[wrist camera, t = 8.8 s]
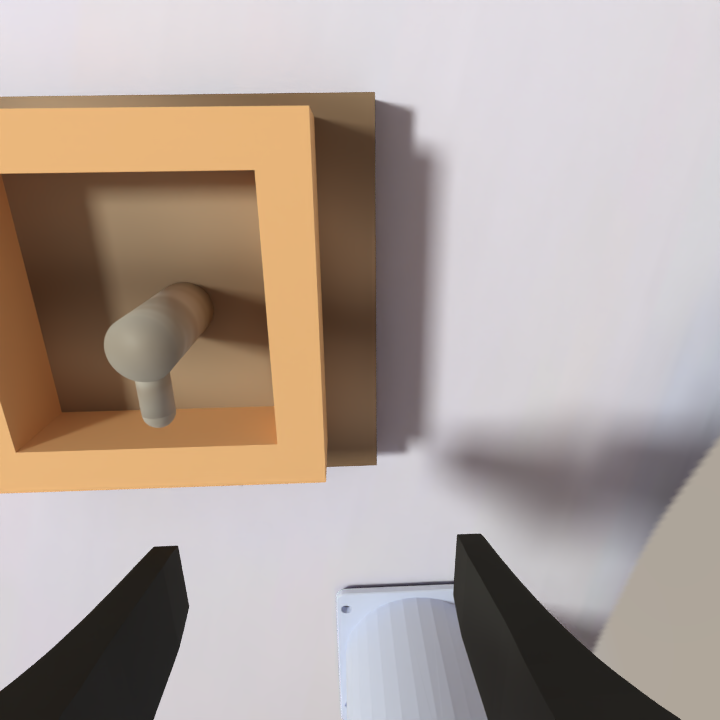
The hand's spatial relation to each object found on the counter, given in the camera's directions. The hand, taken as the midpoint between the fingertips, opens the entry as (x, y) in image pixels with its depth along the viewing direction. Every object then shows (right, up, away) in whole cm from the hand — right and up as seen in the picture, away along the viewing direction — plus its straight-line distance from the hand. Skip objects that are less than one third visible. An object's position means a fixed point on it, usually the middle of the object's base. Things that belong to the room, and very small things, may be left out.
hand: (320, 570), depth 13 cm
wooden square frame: (-6, +8, +5) cm, 11 cm away
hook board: (-5, +8, +7) cm, 12 cm away
